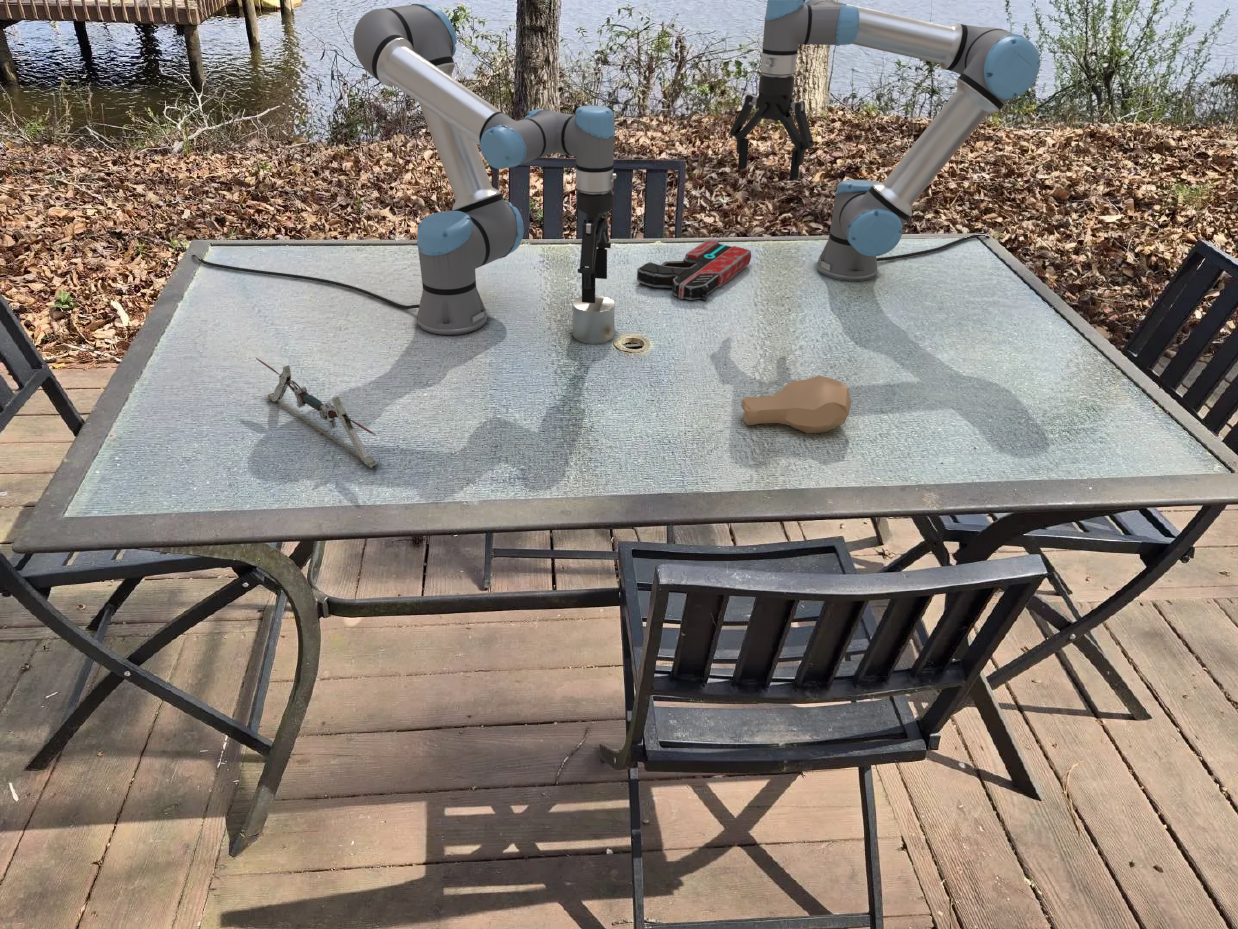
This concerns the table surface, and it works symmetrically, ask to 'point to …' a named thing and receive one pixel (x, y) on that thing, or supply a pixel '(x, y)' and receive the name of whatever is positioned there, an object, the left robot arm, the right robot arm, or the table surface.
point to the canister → (593, 320)
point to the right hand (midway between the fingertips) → (767, 173)
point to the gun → (697, 270)
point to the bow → (322, 411)
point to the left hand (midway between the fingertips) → (594, 289)
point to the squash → (802, 405)
